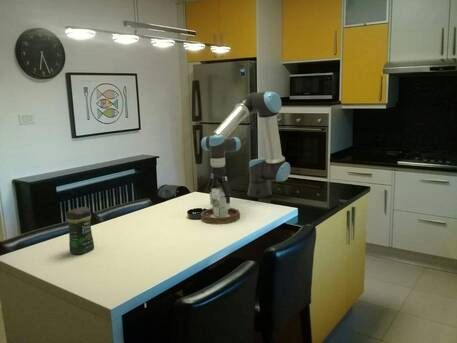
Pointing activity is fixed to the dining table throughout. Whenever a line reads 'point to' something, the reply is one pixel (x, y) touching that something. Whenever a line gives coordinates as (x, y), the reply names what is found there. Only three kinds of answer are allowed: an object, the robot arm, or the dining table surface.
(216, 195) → the syrup box
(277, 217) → the dining table surface
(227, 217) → the round tray
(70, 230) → the coffee jar
